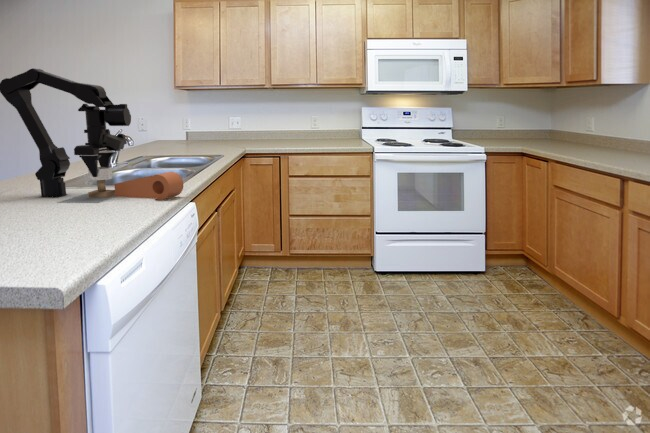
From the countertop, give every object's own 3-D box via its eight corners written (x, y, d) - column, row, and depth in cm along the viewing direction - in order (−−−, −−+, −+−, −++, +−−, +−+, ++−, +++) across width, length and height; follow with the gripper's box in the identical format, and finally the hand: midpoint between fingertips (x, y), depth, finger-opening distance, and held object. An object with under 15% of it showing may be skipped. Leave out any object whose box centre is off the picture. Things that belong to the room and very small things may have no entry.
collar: (86, 180, 180) (85, 168, 179) (96, 177, 186) (95, 166, 186) (105, 180, 179) (104, 169, 179) (115, 177, 186) (114, 166, 185)
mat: (56, 204, 172) (56, 202, 171) (85, 195, 188) (85, 193, 188) (98, 204, 170) (97, 202, 170) (123, 195, 187) (123, 194, 187)
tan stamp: (88, 197, 181) (86, 176, 180) (97, 194, 187) (96, 174, 186) (106, 197, 181) (105, 176, 179) (115, 194, 186) (113, 174, 185)
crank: (183, 197, 184) (183, 172, 182) (169, 201, 177) (169, 175, 175) (130, 192, 190) (129, 168, 188) (115, 196, 182) (113, 171, 181)
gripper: (106, 127, 170) (110, 179, 173) (133, 125, 188) (137, 172, 191) (71, 127, 171) (75, 179, 174) (101, 125, 189) (105, 172, 192)
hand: (100, 175), depth 183 cm, fingers closed on collar, 6 cm apart
